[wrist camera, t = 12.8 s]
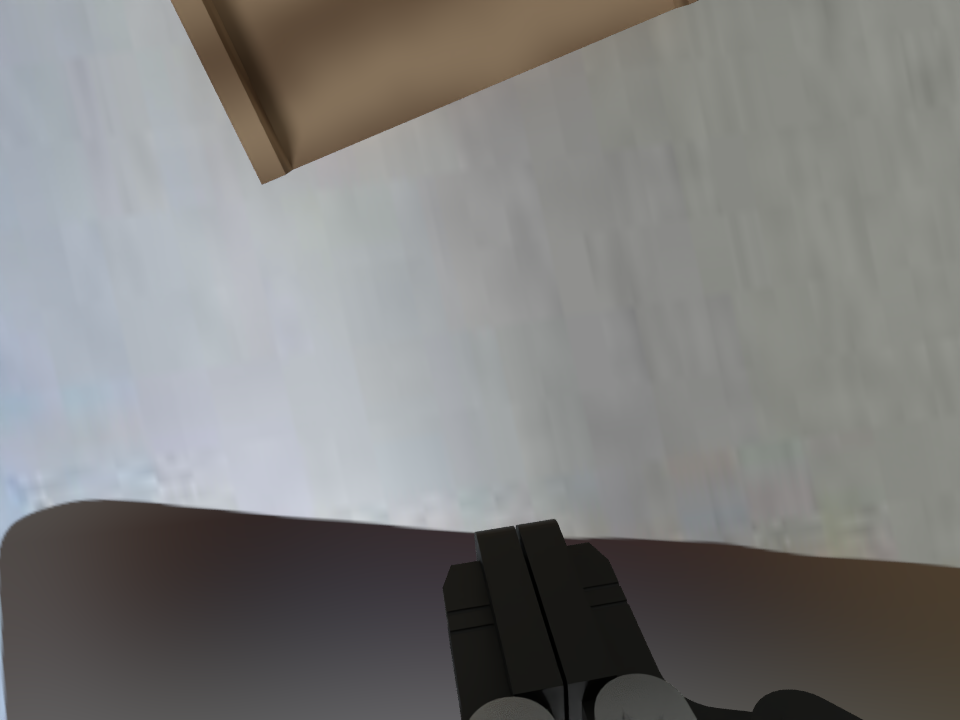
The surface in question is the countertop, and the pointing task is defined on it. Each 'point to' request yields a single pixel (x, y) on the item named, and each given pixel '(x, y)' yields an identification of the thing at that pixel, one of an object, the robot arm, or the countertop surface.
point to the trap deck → (375, 61)
